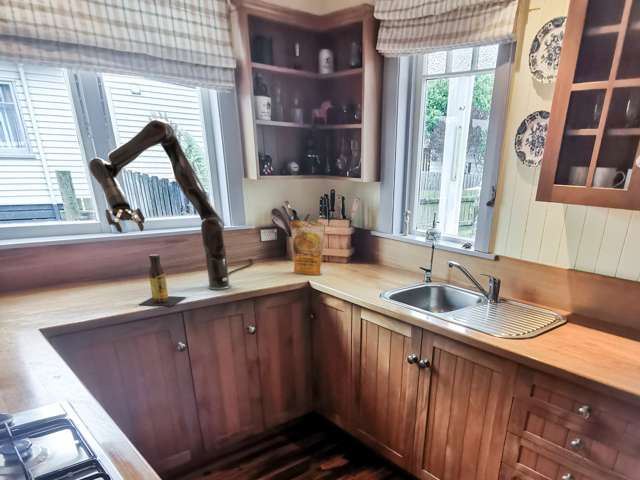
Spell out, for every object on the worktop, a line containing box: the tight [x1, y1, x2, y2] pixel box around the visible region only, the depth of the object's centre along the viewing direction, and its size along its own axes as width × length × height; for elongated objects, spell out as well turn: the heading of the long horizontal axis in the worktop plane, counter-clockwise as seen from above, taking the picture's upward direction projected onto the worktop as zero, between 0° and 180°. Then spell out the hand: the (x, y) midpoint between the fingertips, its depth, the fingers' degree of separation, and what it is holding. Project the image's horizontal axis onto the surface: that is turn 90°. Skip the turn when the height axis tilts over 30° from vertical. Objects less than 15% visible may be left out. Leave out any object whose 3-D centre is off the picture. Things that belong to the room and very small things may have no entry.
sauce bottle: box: [148, 253, 169, 303], centre depth 198 cm, size 7×6×20 cm
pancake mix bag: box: [289, 219, 326, 276], centre depth 255 cm, size 7×19×28 cm, turn 74°
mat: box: [139, 295, 186, 308], centre depth 203 cm, size 14×14×1 cm
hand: (131, 230), depth 197 cm, fingers open, 8 cm apart
